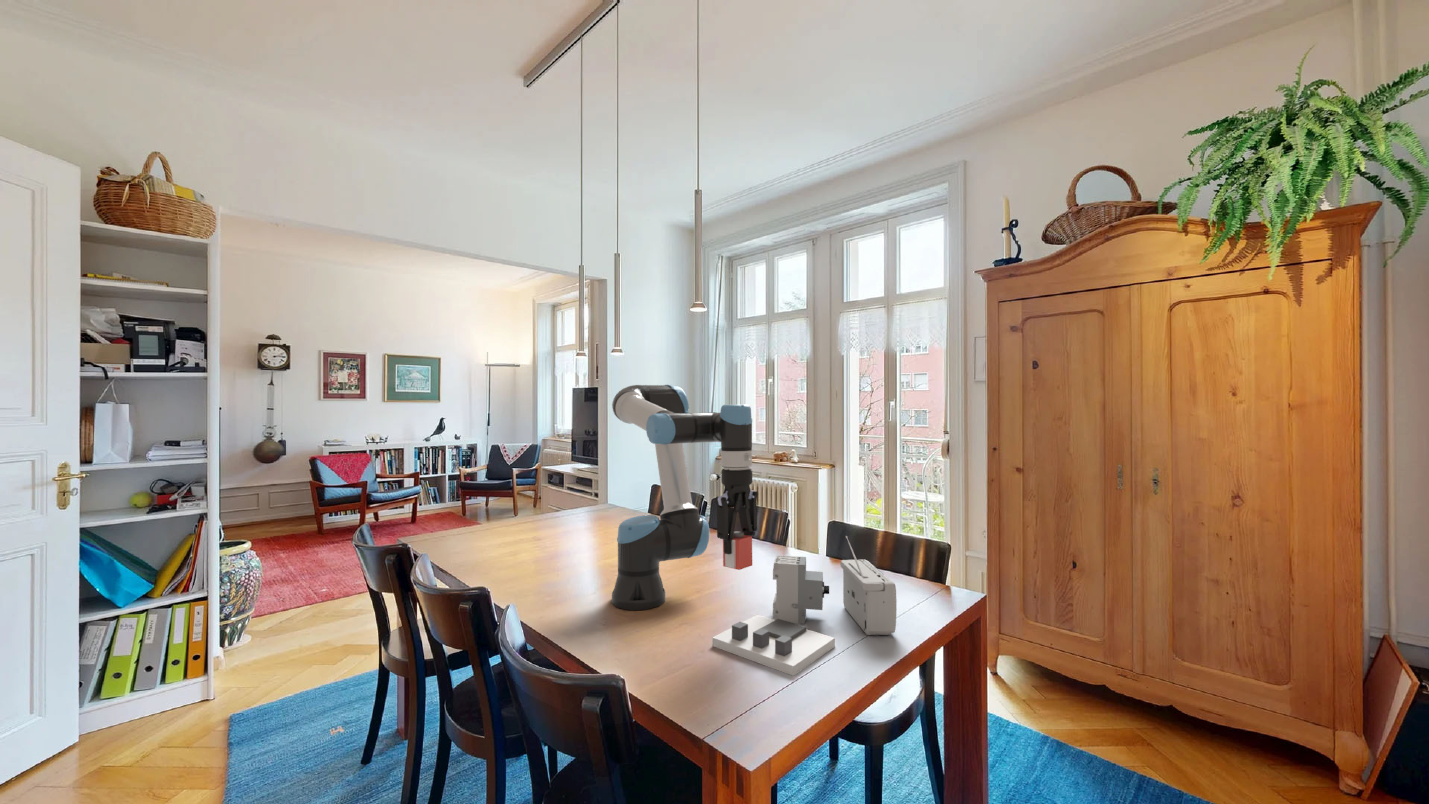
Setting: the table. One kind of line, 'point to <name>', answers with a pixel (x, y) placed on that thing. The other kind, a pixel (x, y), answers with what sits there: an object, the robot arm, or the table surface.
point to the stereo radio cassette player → (869, 596)
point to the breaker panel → (774, 643)
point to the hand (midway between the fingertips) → (738, 564)
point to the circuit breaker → (796, 589)
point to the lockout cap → (741, 550)
